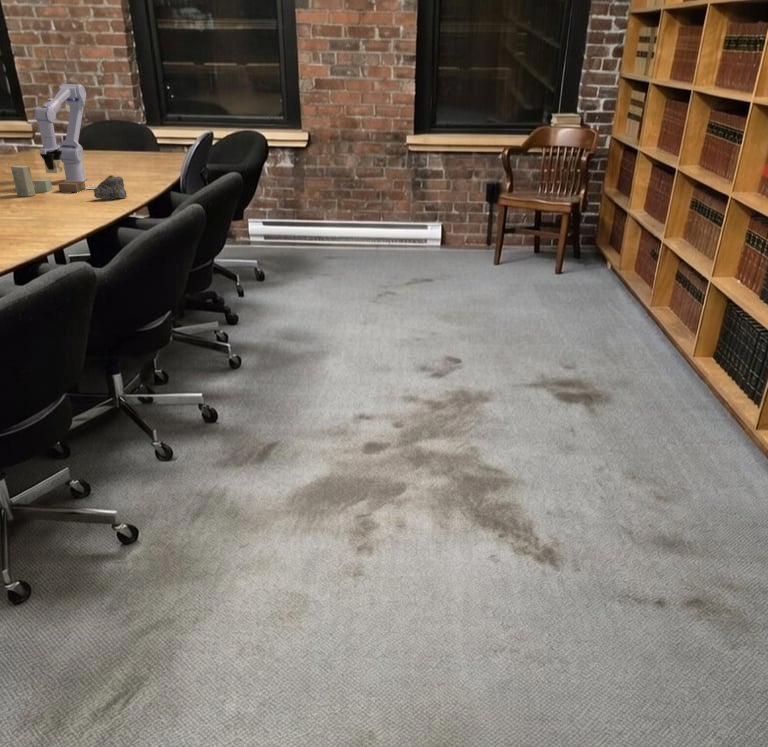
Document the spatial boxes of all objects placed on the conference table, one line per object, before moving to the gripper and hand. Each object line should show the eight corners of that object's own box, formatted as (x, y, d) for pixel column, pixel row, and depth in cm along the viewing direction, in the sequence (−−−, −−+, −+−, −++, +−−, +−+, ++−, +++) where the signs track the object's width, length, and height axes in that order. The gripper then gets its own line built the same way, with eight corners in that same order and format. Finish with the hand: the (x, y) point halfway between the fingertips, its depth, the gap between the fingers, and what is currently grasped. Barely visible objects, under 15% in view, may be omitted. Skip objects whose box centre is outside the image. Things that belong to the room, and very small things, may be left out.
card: (91, 185, 309) (91, 184, 308) (106, 185, 309) (106, 184, 308) (82, 189, 300) (82, 188, 299) (97, 190, 300) (97, 188, 299)
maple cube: (51, 170, 301) (49, 159, 298) (62, 171, 301) (60, 160, 298) (46, 172, 296) (44, 161, 294) (57, 173, 296) (55, 161, 294)
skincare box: (36, 195, 285) (30, 166, 279) (28, 197, 281) (23, 167, 275) (23, 193, 286) (18, 164, 281) (16, 195, 282) (10, 166, 277)
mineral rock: (94, 201, 279) (91, 177, 275) (95, 196, 288) (92, 173, 284) (127, 201, 283) (123, 177, 279) (126, 195, 292) (123, 172, 288)
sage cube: (41, 190, 295) (39, 178, 292) (52, 190, 295) (50, 179, 292) (35, 192, 290) (33, 180, 288) (47, 192, 290) (45, 181, 288)
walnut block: (68, 189, 300) (67, 180, 298) (85, 190, 300) (84, 181, 298) (59, 192, 293) (58, 183, 291) (77, 193, 292) (75, 184, 291)
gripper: (47, 134, 298) (52, 165, 304) (31, 138, 285) (37, 170, 291) (62, 135, 298) (67, 166, 304) (47, 139, 285) (53, 171, 291)
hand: (53, 168), depth 298 cm, fingers closed on maple cube, 5 cm apart
